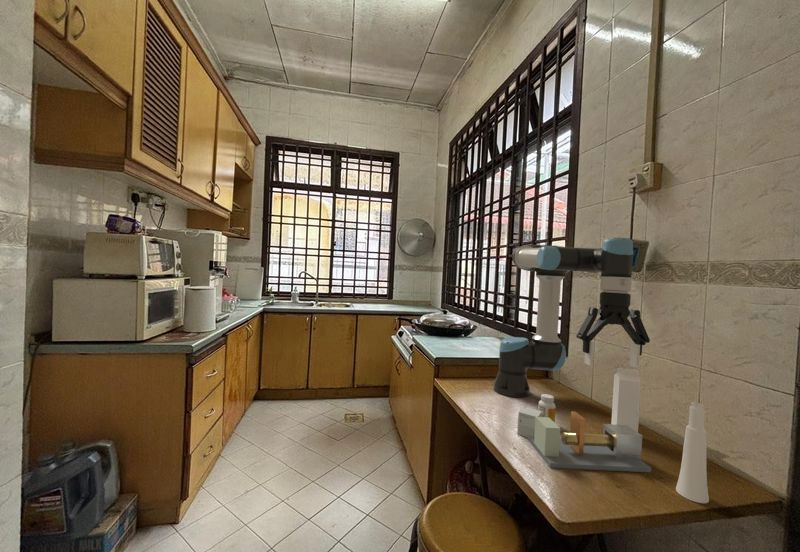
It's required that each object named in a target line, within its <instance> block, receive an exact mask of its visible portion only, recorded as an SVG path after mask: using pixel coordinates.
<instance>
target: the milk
mask: <svg viewBox="0 0 800 552" xmlns="http://www.w3.org/2000/svg"><path fill="white" fill-rule="evenodd" d="M641 388H642V382H641V379H640V376H639V370H638V369H634V368H626V367H624V368H623V367H617V369H616V372H615V374H613V391H612V403H611V404H612V405H611V407H612V409H611V422H610V424H615V425H627V426H629V427H630V428H632V429H633V430H635V431H636V432H638V433H639V423H640V421H639V420H640V404H641V390H642V389H641Z"/></svg>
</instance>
